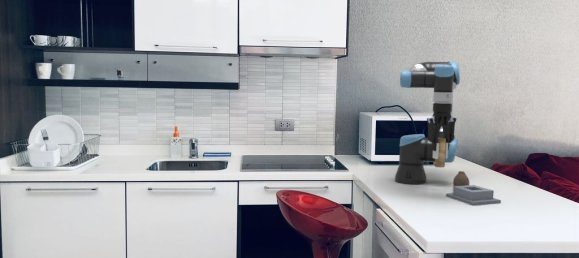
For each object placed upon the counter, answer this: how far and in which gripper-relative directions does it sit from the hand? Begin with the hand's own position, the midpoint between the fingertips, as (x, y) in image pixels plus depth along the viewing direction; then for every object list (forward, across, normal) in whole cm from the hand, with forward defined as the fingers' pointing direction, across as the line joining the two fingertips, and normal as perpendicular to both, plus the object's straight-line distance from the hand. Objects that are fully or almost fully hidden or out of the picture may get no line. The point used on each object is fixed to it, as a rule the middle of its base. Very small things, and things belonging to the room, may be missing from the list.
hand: (439, 158), depth 189 cm
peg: (+4, 0, 0) cm, 4 cm away
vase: (+17, +18, +6) cm, 25 cm away
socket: (+17, +10, -9) cm, 21 cm away
